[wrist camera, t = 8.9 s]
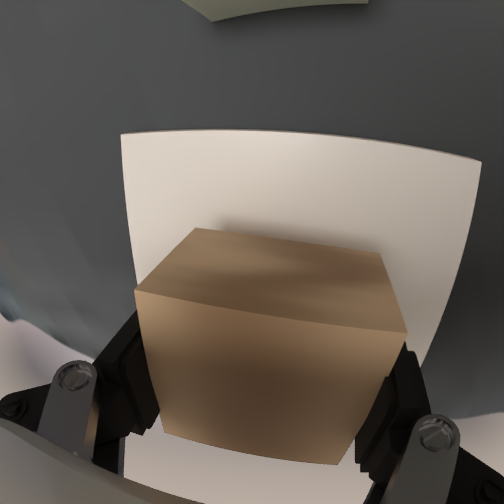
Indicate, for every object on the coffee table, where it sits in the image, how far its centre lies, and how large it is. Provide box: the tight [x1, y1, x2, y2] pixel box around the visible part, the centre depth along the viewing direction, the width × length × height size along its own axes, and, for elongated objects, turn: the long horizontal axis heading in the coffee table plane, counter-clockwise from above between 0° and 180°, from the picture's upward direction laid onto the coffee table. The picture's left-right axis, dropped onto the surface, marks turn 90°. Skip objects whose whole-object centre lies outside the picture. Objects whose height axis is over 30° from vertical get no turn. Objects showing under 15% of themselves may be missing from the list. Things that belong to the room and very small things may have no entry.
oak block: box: [134, 227, 408, 465], centre depth 9 cm, size 6×6×4 cm
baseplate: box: [121, 129, 482, 367], centre depth 13 cm, size 14×12×1 cm
